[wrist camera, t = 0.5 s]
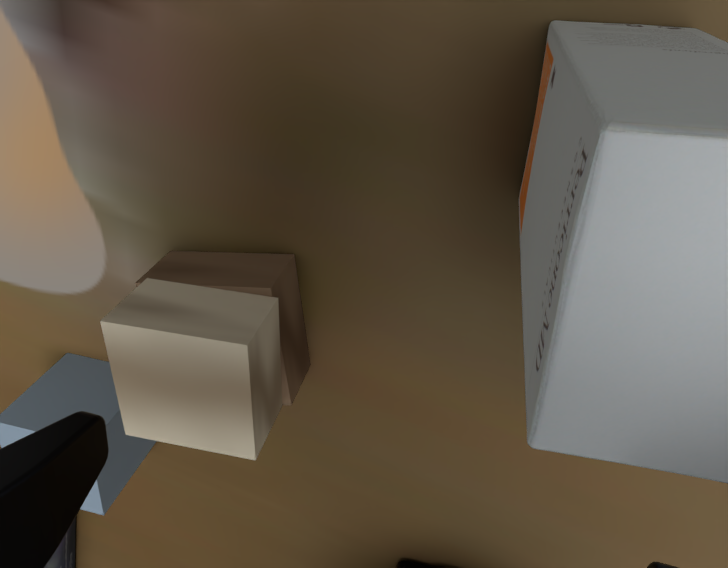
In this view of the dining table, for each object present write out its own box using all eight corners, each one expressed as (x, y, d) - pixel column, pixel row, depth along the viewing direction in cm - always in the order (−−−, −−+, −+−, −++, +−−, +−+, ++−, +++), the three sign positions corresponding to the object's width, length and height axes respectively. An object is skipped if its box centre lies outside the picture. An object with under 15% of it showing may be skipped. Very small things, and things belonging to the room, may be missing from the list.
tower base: (312, 361, 26) (291, 405, 24) (200, 353, 27) (169, 395, 25) (296, 251, 24) (270, 288, 21) (173, 248, 25) (135, 282, 22)
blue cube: (159, 437, 31) (103, 515, 26) (81, 418, 31) (14, 491, 27) (151, 371, 28) (90, 445, 24) (68, 351, 29) (-7, 420, 25)
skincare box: (545, 17, 18) (601, 108, 7) (697, 25, 17) (993, 139, 7) (513, 206, 21) (520, 455, 10) (640, 219, 20) (783, 501, 10)
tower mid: (282, 405, 24) (255, 460, 21) (164, 384, 25) (125, 434, 22) (278, 297, 21) (247, 345, 19) (147, 277, 22) (100, 321, 19)
